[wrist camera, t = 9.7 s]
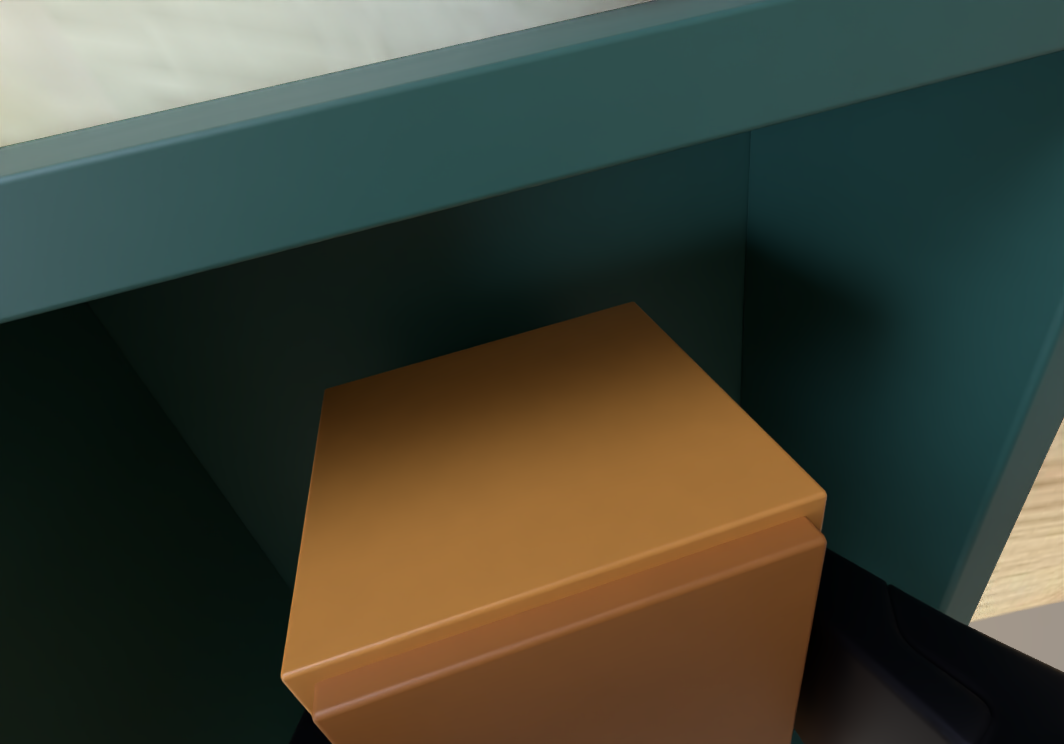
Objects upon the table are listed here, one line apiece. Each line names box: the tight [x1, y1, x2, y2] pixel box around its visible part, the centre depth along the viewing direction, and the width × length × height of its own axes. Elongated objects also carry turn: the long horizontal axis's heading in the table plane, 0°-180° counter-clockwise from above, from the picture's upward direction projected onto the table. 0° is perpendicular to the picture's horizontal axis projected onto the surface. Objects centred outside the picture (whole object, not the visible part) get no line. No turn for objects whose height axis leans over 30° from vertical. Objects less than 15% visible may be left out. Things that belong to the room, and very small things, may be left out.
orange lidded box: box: [281, 302, 827, 744], centre depth 8 cm, size 5×7×5 cm
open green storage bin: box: [0, 0, 1064, 744], centre depth 10 cm, size 14×15×7 cm
